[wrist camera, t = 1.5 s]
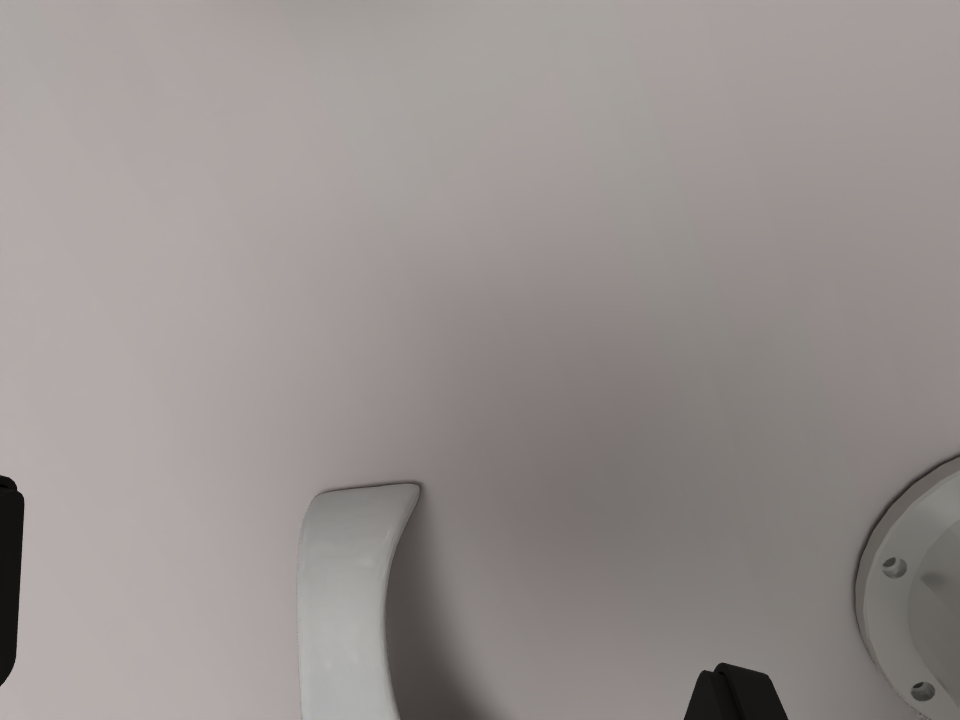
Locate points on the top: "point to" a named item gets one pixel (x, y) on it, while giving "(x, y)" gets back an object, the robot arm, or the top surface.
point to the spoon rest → (348, 601)
